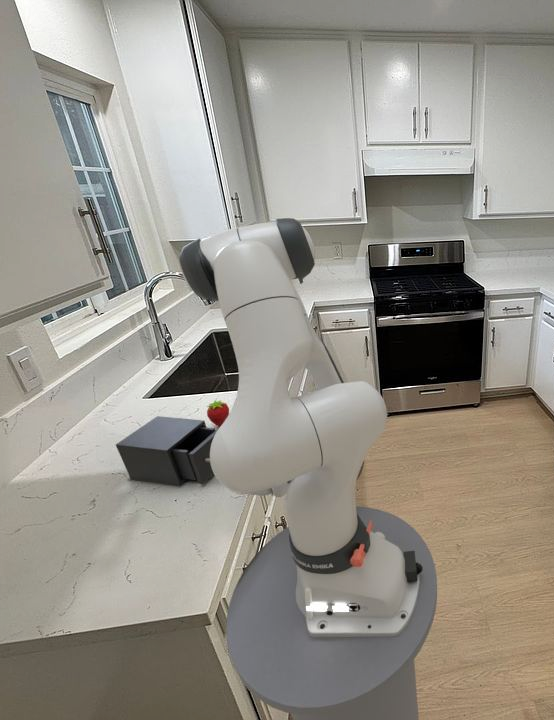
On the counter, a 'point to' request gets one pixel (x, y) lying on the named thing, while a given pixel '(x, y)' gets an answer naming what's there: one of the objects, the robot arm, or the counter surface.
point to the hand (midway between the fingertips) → (244, 455)
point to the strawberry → (218, 412)
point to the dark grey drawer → (195, 455)
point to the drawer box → (156, 449)
